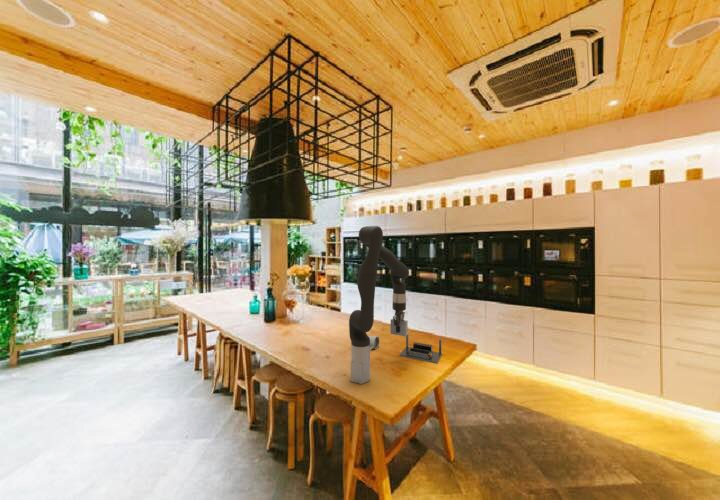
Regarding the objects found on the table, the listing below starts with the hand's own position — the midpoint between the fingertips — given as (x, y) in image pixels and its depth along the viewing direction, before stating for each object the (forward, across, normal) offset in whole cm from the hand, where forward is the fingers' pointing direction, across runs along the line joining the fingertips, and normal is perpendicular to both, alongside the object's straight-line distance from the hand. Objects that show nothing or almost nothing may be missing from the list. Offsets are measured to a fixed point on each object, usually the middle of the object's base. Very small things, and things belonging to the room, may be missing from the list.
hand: (398, 331), depth 151 cm
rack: (+17, +14, -9) cm, 24 cm away
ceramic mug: (+17, +11, +22) cm, 30 cm away
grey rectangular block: (+2, 0, 0) cm, 2 cm away
